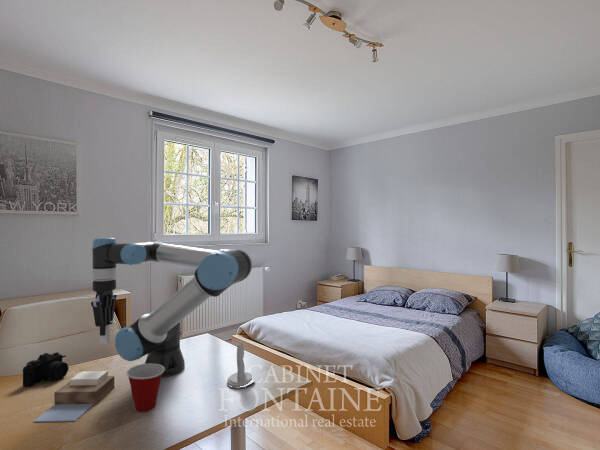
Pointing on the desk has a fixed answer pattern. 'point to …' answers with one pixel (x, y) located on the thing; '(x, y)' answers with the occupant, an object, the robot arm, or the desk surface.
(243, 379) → the grey stemmed stand
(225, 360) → the desk surface
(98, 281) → the robot arm
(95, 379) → the white rectangular block
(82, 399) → the brown wooden flat block
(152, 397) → the plastic cup
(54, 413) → the mat
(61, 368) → the film camera
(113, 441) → the desk surface
